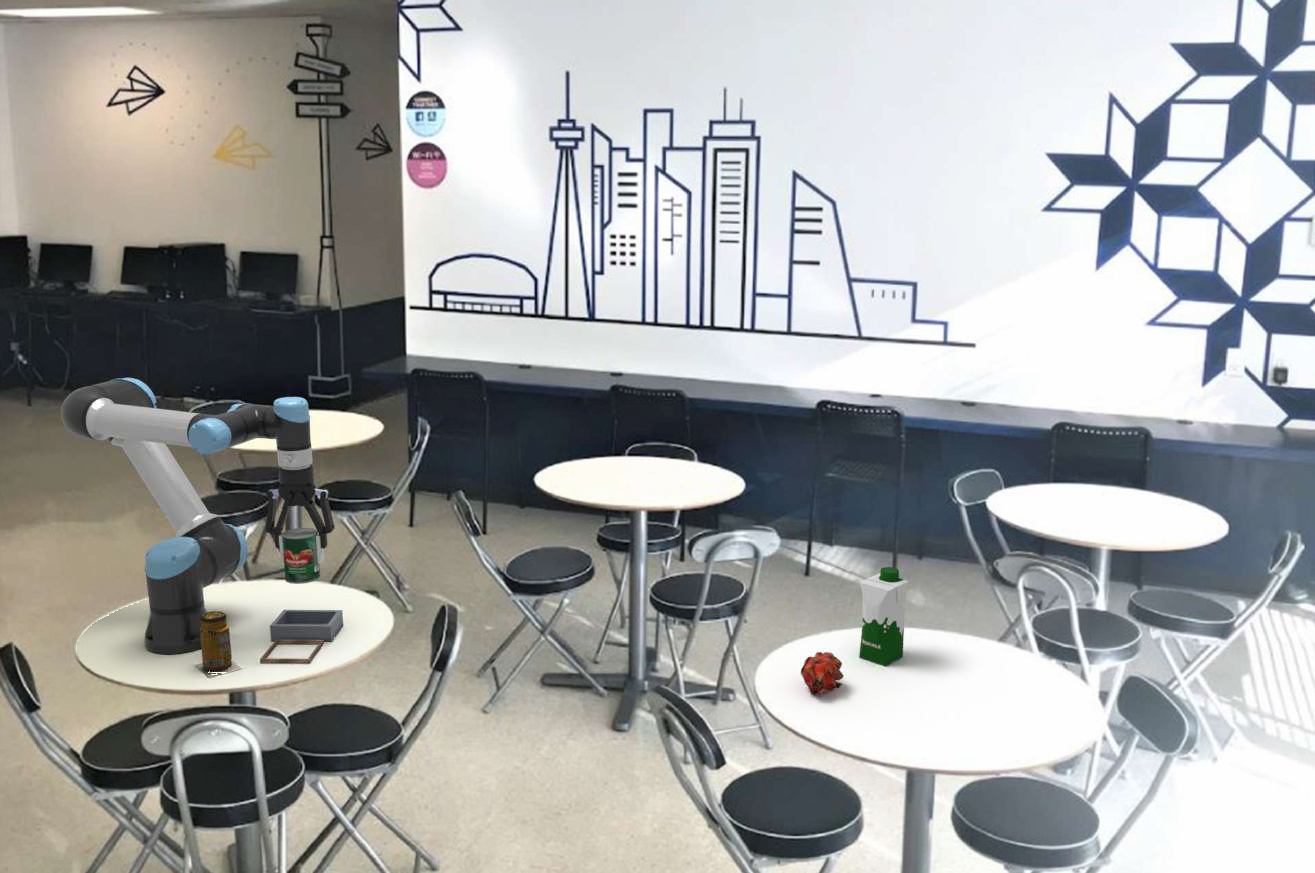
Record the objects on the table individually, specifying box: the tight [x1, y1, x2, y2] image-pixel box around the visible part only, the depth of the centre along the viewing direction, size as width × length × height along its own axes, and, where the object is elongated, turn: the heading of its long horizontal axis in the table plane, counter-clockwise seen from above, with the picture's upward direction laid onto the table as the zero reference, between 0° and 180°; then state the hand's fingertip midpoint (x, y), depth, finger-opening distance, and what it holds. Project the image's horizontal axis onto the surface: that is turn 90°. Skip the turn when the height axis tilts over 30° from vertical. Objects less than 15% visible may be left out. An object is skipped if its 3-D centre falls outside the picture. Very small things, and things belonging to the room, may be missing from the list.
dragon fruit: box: [800, 651, 845, 696], centre depth 256 cm, size 8×8×12 cm
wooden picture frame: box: [259, 640, 325, 665], centre depth 276 cm, size 11×11×1 cm
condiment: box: [195, 610, 243, 678], centre depth 267 cm, size 7×8×12 cm
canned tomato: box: [282, 527, 321, 585], centre depth 282 cm, size 8×8×11 cm
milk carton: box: [858, 566, 909, 667], centre depth 271 cm, size 9×9×20 cm
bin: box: [269, 609, 344, 643], centre depth 286 cm, size 14×10×4 cm
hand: (302, 561), depth 283 cm, fingers closed on canned tomato, 8 cm apart
